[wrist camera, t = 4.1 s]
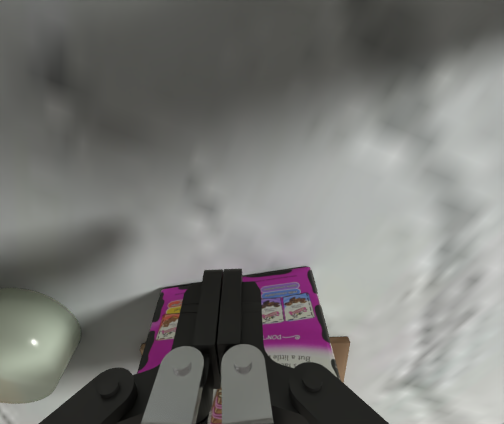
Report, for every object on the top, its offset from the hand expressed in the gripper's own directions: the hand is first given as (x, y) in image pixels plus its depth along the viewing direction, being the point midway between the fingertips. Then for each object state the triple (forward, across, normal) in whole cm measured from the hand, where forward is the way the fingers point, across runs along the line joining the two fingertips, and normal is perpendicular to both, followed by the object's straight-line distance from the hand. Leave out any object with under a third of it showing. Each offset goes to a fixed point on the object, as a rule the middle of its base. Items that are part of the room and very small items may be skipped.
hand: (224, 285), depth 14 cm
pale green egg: (+8, +17, +11) cm, 22 cm away
